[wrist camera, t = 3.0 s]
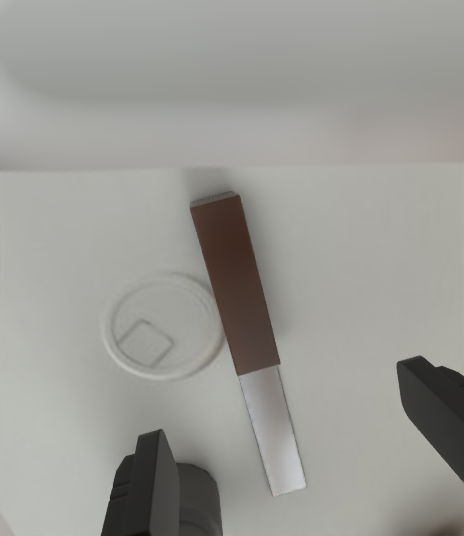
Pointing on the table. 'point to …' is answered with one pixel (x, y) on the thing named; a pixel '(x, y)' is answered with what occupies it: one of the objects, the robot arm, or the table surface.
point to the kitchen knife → (249, 333)
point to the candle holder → (198, 503)
